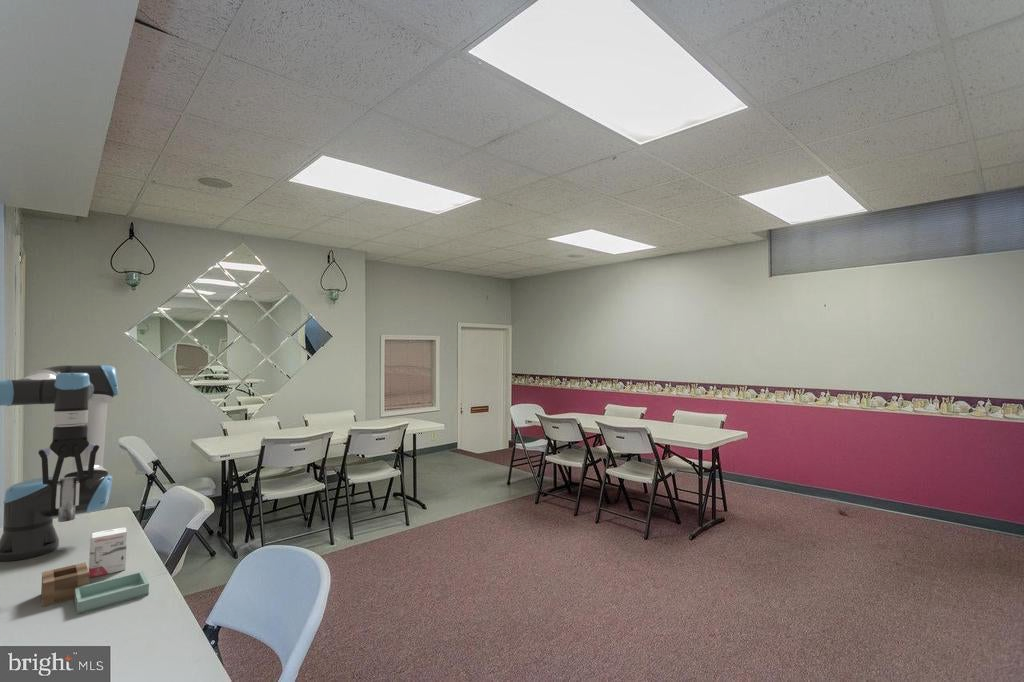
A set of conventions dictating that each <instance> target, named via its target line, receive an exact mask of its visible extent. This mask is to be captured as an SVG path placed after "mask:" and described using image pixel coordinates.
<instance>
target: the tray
mask: <svg viewBox="0 0 1024 682" xmlns="http://www.w3.org/2000/svg"><path fill="white" fill-rule="evenodd" d="M149 588H150V582H149V581H148V579H147V577H146V576H145V574H144V572H143V571H142V570H141V571H137V572H133V573H130V574H125V575H122V576H118V577H114V578H110V579H106V580H101V581H97V582H94V583H93V582H92V583H88V585H85V586H81V587H77V588H75V594H74V598H73V599H74V600H73V601H74V605H75V609H76V614H77V615H80V614H83V613H84V614H85V613H88V612H91V611H95V610H98V609H102V608H105V607H110V606H113V605H117V604H120V603H124V602H127V601H130V600H131V601H132V600H135V599H137V598H141V597H145V595H146V596H148V594H149V592H150V591H149V590H150V589H149Z"/></svg>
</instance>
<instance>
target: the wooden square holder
mask: <svg viewBox="0 0 1024 682" xmlns="http://www.w3.org/2000/svg"><path fill="white" fill-rule="evenodd" d="M89 578H90V577H89V567H88V566H87V562H82V563H76V564H73V565H69V566H64V567H59V568H55V569H50V570H46V571H42V572H41V594H40V595H41V607H46V606H50V605H53V604H57V603H62V602H66V601H69V600H73V599H74V594H75V588H77V587H81V586H85V585H89Z"/></svg>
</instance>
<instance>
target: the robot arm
mask: <svg viewBox="0 0 1024 682" xmlns="http://www.w3.org/2000/svg"><path fill="white" fill-rule="evenodd" d="M116 396H119V385H118V376H117V369H116V368H115V366H112V365H103V364H97V365H96V364H95V365H94V364H93V365H92V364H91V365H87V364H86V365H84V364H83V365H66V364H64V365H62V364H61V365H55V366H49V367H43V368H41V369H38V370H33V371H32V372H30V373H29V374H27V376H25V377H23V378H19V379H0V406H3V407H4V406H6V407H11V406H26V405H27V406H29V405H30V406H31V405H54V409H53V422H52V423H53V426H54V427H53V428H52V441H51V443H50V445H49V446H48V447H46V448H43V449H42V448H41V449H39V450H38V455H39V456H40V458H41V472H42V473H41V474H42V475H41V476H42V477H38V478H33V479H28V480H24V481H21V482H17V483H15V484H13V485H10V486H9V487H8V488H6V490H5V492H4V500H3V504H4V505H3V529H2V534H1V536H0V562H10V561H11V562H12V561H19V560H25V559H29V558H34V557H38V556H43V555H45V554H47V553H51V552H52V551H54V550H56V549H58V547H59V546H60V538H59V536H58V533H57V531H56V529H55V525H54V520H53V519H54V517H58V513H59V508H60V486H61V485H60V475H61V471H62V467H63V464H64V460H65V459H67V458H71V462H70V463H71V466H70V470H69V471H67V472H66V473H65V474H64V476H63V478H66V477H77V482H76V496H75V515H76V514H84V513H87V514H89V513H90V512H91V513H92V512H97V511H101V510H103V509H105V508H106V506H107V505H108V502H109V499H110V496H111V491H112V487H113V486H112V485H113V480H114V479H113V475H110V474H109V471H108V469H106V468H104V459H105V457H104V456H105V445H106V443H105V442H106V432H107V431H106V429H107V428H106V427H107V415H108V405H109V404H111V403H112V402H113V401H114V397H116ZM51 451H52V452H53V453H54V454H55V455H56V456H57V461H56V464H55V467H54V471H53V475H52V476H49V459H48V456H49V455H51V453H50V452H51Z"/></svg>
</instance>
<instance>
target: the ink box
mask: <svg viewBox="0 0 1024 682" xmlns="http://www.w3.org/2000/svg"><path fill="white" fill-rule="evenodd" d="M89 541H90V542H89V555H88V556H89V558H88V572H89V578H91V579H92V578H95V577H99V576H103V575H107V574H108V575H109V574H113V573H117V572H122V571H125V570H126V569H127V568H126V567H127V566H126V563H127V549H128V548H127V546H128V545H127V542H128V529H127V527H119V528H113V529H106V530H102V531H101V530H100V531H96V532H93V533H91V534H90V540H89Z"/></svg>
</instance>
